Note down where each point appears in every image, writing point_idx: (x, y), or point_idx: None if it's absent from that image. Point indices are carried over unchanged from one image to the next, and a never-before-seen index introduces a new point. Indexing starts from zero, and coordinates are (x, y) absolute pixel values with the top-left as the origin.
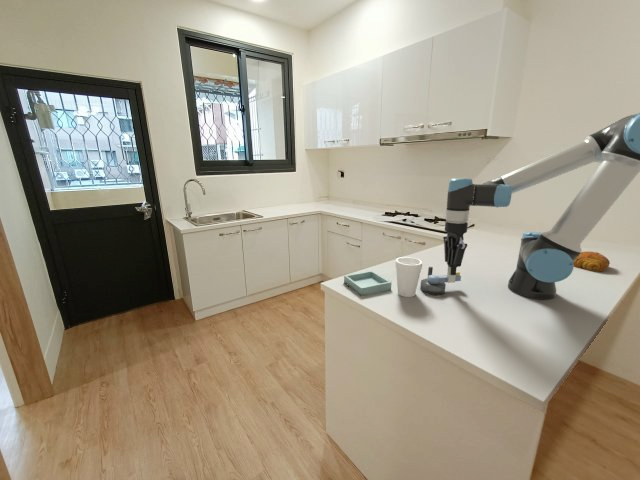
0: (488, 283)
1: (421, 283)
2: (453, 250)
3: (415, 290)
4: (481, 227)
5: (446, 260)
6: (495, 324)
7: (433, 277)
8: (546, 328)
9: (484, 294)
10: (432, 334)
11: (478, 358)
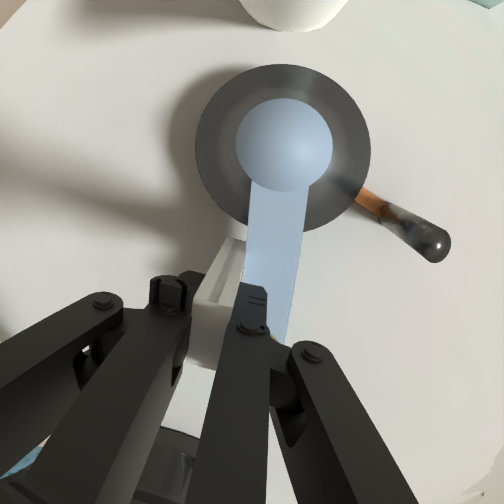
0: None
1: (308, 69)
2: (28, 475)
3: (245, 5)
4: (470, 501)
5: (292, 354)
6: (5, 207)
7: (276, 135)
8: (6, 310)
9: None
10: (27, 12)
11: None
